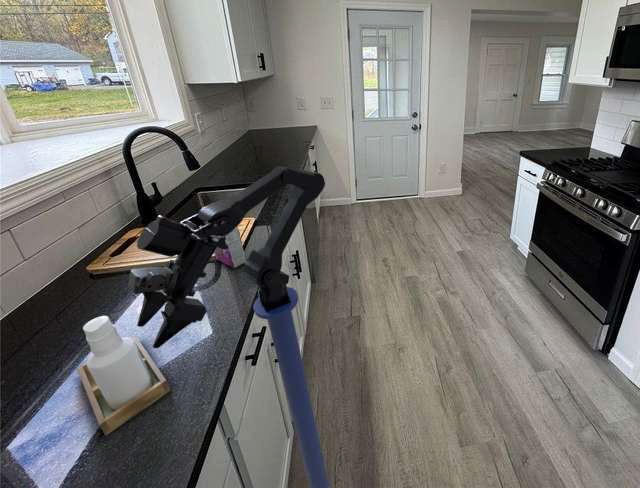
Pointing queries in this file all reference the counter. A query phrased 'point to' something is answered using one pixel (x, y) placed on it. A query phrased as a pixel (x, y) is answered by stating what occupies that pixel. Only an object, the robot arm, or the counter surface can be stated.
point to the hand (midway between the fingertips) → (147, 336)
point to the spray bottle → (115, 363)
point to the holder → (115, 418)
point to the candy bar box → (232, 250)
